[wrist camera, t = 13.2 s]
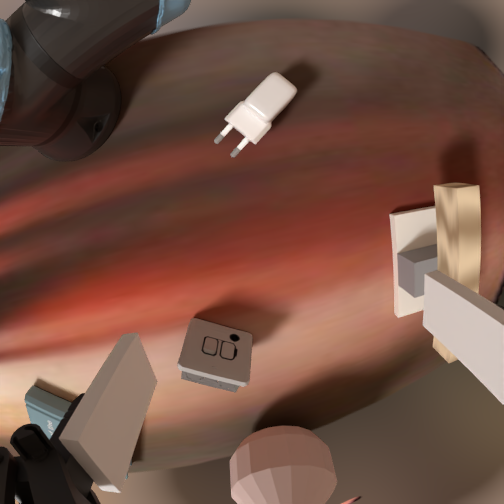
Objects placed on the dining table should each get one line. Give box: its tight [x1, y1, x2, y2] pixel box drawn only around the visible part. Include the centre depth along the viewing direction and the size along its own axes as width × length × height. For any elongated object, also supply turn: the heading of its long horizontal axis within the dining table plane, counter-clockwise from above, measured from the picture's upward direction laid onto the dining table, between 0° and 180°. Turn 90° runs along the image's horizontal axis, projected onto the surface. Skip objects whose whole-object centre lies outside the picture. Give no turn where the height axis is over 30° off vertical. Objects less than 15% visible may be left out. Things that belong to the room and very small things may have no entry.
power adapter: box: [214, 72, 297, 157], centre depth 34 cm, size 11×5×6 cm, turn 139°
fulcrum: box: [390, 206, 437, 318], centre depth 40 cm, size 16×12×6 cm
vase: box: [230, 425, 337, 504], centre depth 36 cm, size 18×18×30 cm
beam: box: [433, 183, 481, 363], centre depth 34 cm, size 24×4×5 cm, turn 11°
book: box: [25, 386, 132, 479], centre depth 48 cm, size 23×16×5 cm
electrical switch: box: [177, 318, 253, 392], centre depth 40 cm, size 9×5×9 cm, turn 72°
